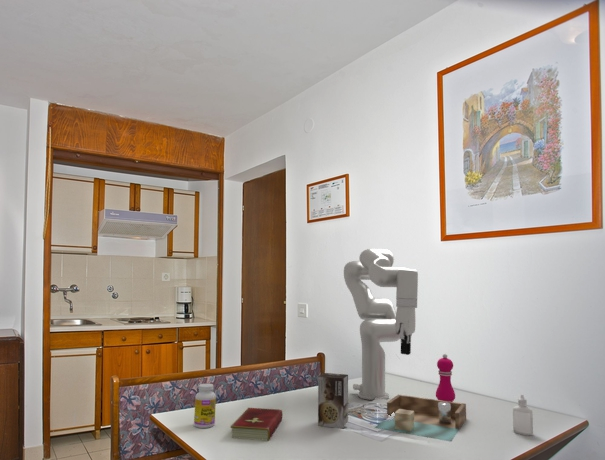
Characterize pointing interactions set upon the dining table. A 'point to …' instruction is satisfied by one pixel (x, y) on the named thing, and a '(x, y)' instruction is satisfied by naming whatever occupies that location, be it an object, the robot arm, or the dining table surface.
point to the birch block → (404, 419)
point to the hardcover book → (257, 424)
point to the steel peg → (444, 412)
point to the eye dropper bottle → (522, 418)
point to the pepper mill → (445, 380)
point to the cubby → (425, 417)
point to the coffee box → (332, 400)
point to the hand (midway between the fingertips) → (405, 353)
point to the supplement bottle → (205, 406)
